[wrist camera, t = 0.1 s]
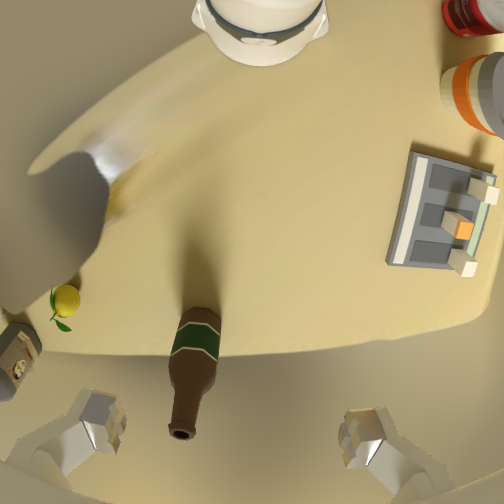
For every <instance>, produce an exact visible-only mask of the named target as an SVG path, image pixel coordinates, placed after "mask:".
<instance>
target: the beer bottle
mask: <svg viewBox="0 0 504 504" xmlns="http://www.w3.org/2000/svg"><path fill="white" fill-rule="evenodd" d="M220 337H221V319H220V318H219V317H218V316H217V315H216V314H215V313H214V312H212V311H211V310H210V309H205V308H192V309H191V310H190V311H188V312H187V313H186V314H184V315H183V316H182V318H181V320H180V323H179V326H178V330H177V333H176V337H175V340H174V344H173V347H172V351H171V355H170V359H169V373H170V380H171V385H172V387H173V388H174V390H175V396H174V404H173V412H172V420H171V423H170V424H168V427H169V432H170V435H171V436H173V437H174V438H176V439H179V440H189V439H192V438H194V436H195V434H196V428H195V423H196V418H197V414H198V409H199V405H200V401H201V399H202V396H203V394H205V393H206V392H207V391H209V390H210V389H211V388H212V386H213V384H214V383H215V379H216V374H217V364H218V356H219V347H220Z"/></svg>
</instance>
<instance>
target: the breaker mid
mask: <svg viewBox="0 0 504 504" xmlns="http://www.w3.org/2000/svg"><path fill="white" fill-rule="evenodd" d="M473 226H474V223H472V222H471V221H469V220H468V219H466V218H465V217H463V216H462V215H460V214H459V213H456V212H450V211H445V212H444V216H443V220H442V224H441V227H442V228H444V229H445V230H446V231H447V232H449V233H450V234H451V235H452V236H454V237H455V238H457V239H464V240H469V239H470V236H471V232H472V229H473Z"/></svg>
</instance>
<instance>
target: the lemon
mask: <svg viewBox="0 0 504 504" xmlns="http://www.w3.org/2000/svg"><path fill="white" fill-rule="evenodd" d="M50 305H51V309H52V311H53V312H54V315H53V317H52V318H51V319H50V321H51V320H52V319H53V318H54V316H55V315H57V316H58V317H61V318H66V317H69V316H71V315H73V314H74V313H75V312H76V311H77V309H78V308H79V305H80V295H79V292H78V290H77V289H76V288H75V287H73V286H71V285H67V284H64V285H61V286H59V287H58V288H57V289H56V290H55V291H54V293H53V295H52V290H51V295H50ZM54 320H55V321H56V324H57V326H58V327H59V329H60V330H61V331H64V332H69V331H72V330H71V329H70V328H69V327H67V326H66V325H64V324H63V323H61V322H59V321H58V320H56V319H54Z"/></svg>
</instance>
